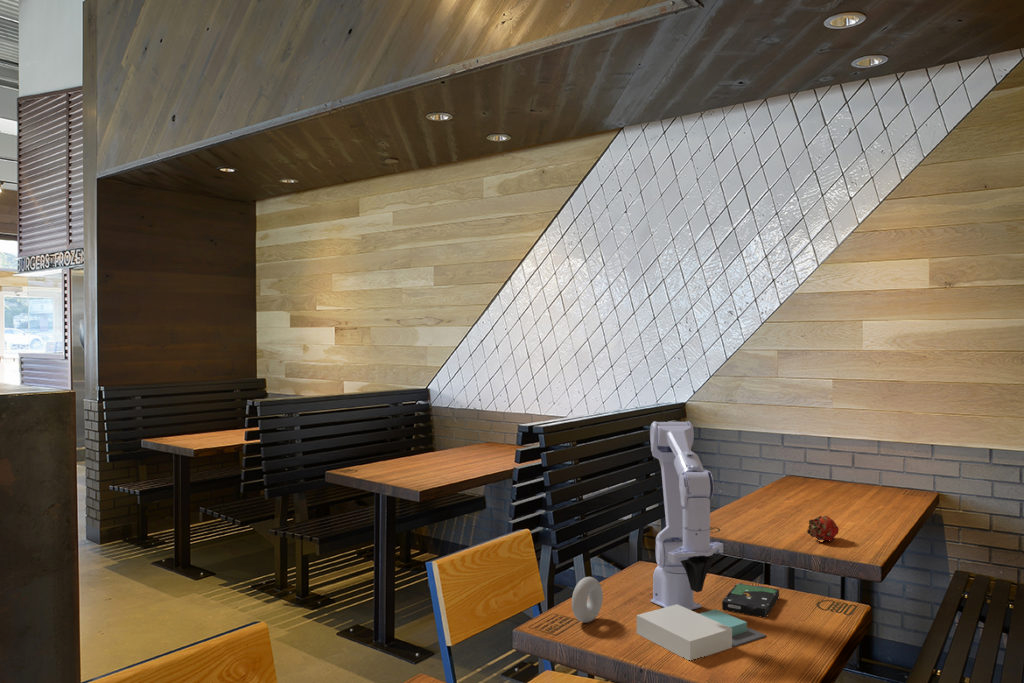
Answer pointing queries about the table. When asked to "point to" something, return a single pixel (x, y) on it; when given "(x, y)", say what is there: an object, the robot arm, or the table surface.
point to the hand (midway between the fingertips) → (696, 590)
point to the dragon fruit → (823, 528)
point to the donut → (580, 605)
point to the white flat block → (684, 632)
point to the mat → (746, 637)
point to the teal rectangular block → (727, 621)
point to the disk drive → (750, 599)
